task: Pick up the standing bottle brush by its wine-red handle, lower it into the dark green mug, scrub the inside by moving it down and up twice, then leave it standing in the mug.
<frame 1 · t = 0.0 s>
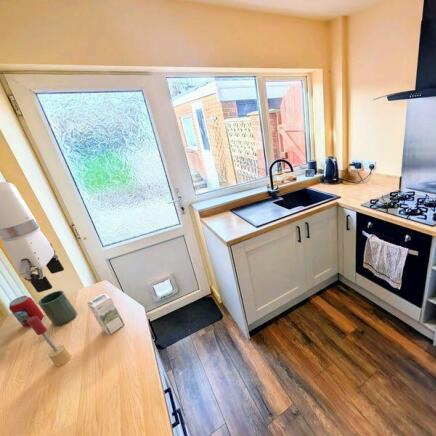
hand: (52, 280, 72), 33 cm above the countertop, tool pointing down, fingers open, 9 cm apart
bottle brush: (63, 360, 85), on the countertop
syrup box: (114, 328, 97), on the countertop
dark green mug: (65, 319, 104), on the countertop
beverage can: (34, 322, 105), on the countertop
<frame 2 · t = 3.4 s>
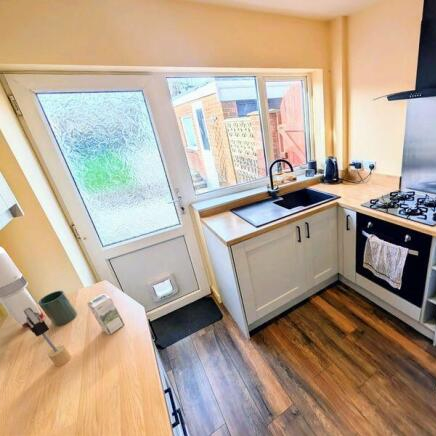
hand: (41, 330, 79), 15 cm above the countertop, tool pointing down, fingers closed on bottle brush, 2 cm apart
bottle brush: (63, 360, 85), on the countertop, touching gripper
everything else where it was.
when the fingers open (15 cm above the countertop, at t = 13.6 s): bottle brush stays where it is, resting on dark green mug.
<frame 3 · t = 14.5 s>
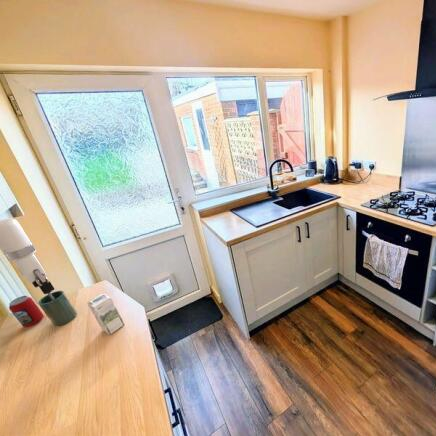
hand: (44, 288, 97), 17 cm above the countertop, tool pointing down, fingers open, 9 cm apart
bottle brush: (65, 317, 104), point 1 cm above the countertop, touching dark green mug
everything else where it was.
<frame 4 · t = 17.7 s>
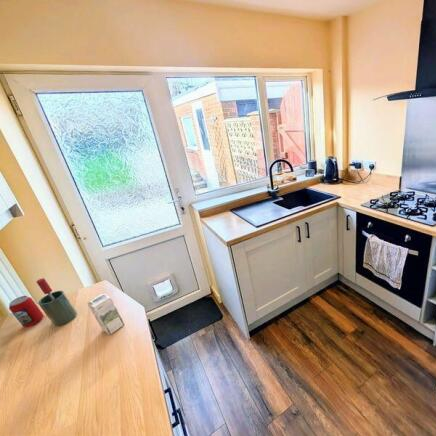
nothing on the countertop moved.
at the end: bottle brush 0.2 cm off-centre in the dark green mug, point 0.6 cm above the dark green mug's base; the gripper is holding nothing; bottle brush tilted 0° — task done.
